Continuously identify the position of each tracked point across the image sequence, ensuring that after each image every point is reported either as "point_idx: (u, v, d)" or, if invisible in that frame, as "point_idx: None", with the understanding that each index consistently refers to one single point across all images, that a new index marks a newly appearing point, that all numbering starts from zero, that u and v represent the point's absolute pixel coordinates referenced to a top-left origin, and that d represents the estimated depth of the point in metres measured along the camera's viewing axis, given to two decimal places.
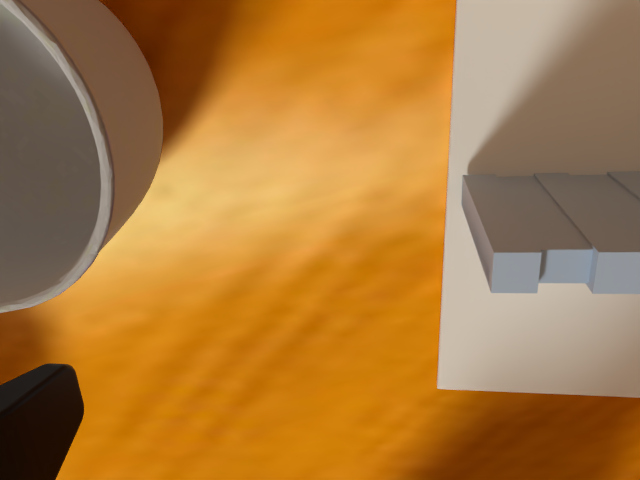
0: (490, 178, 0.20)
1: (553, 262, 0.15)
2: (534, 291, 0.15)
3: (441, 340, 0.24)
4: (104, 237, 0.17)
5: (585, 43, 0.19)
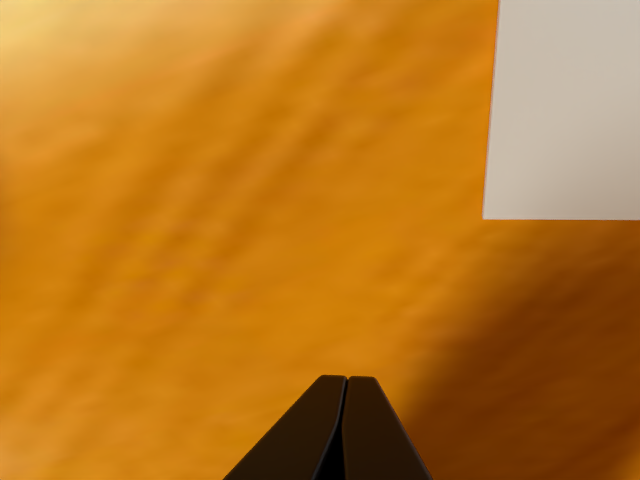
0: None
1: None
2: None
3: (491, 145, 0.18)
4: None
5: None
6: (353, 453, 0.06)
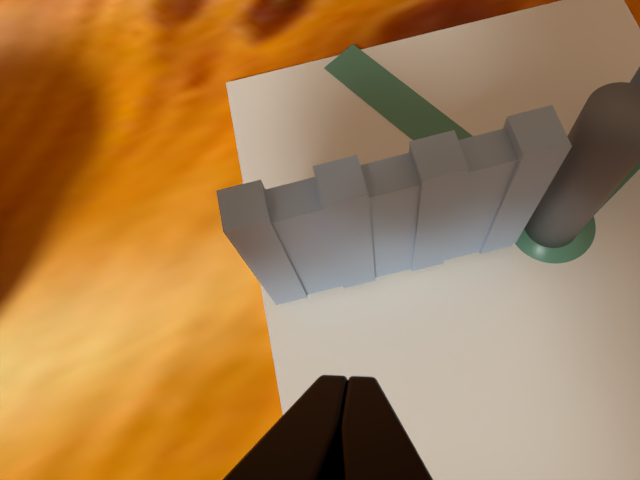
0: None
1: (283, 197, 0.15)
2: (265, 219, 0.14)
3: None
4: None
5: (344, 155, 0.23)
6: (353, 453, 0.06)
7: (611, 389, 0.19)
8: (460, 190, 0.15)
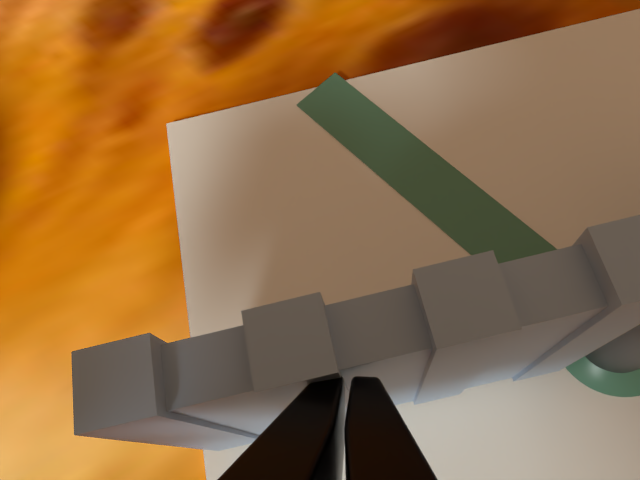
0: None
1: (190, 362, 0.08)
2: (151, 413, 0.08)
3: None
4: None
5: (322, 227, 0.17)
6: (357, 453, 0.06)
7: None
8: (500, 347, 0.09)
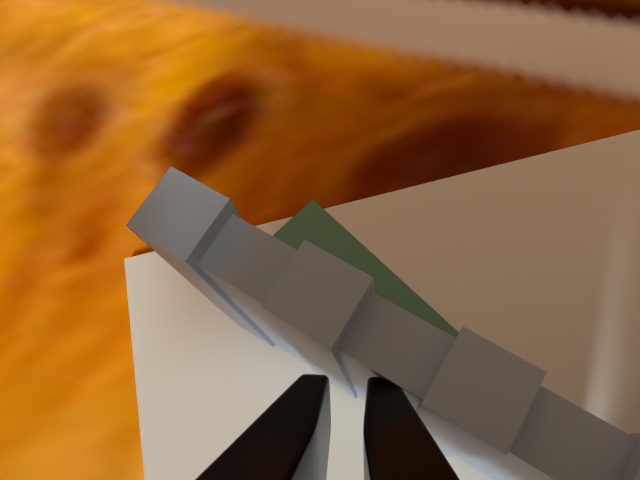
0: None
1: (241, 244, 0.09)
2: (183, 256, 0.08)
3: None
4: None
5: None
6: (379, 454, 0.06)
7: None
8: (485, 452, 0.08)
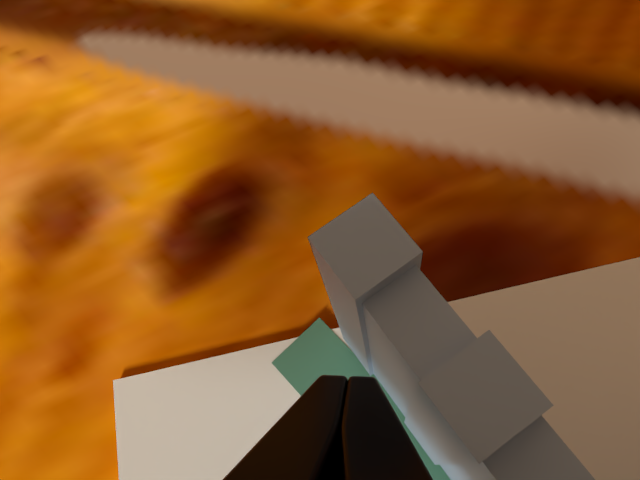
0: None
1: (414, 302, 0.08)
2: (355, 293, 0.08)
3: None
4: None
5: None
6: (353, 453, 0.06)
7: None
8: None
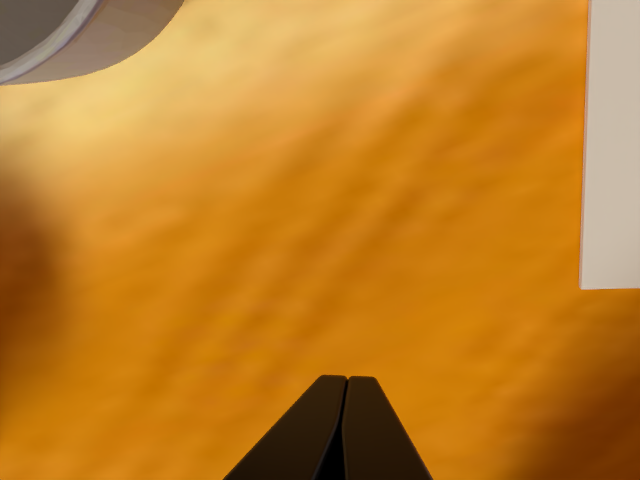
0: None
1: None
2: None
3: (586, 212, 0.18)
4: None
5: None
6: (353, 453, 0.06)
7: None
8: None
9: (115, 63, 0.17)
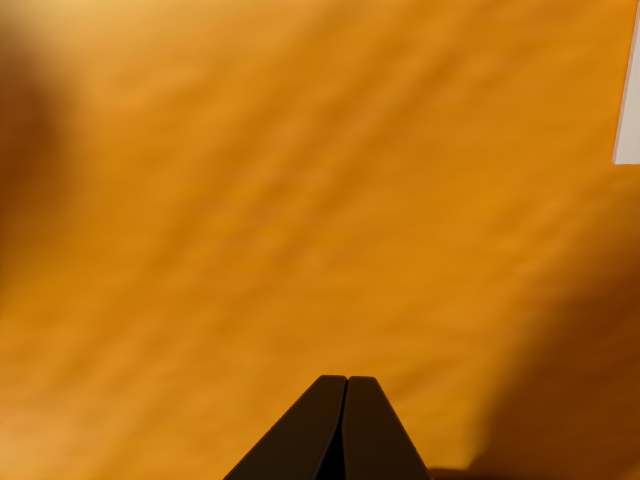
0: None
1: None
2: None
3: (631, 81, 0.17)
4: None
5: None
6: (353, 453, 0.06)
7: None
8: None
9: None
